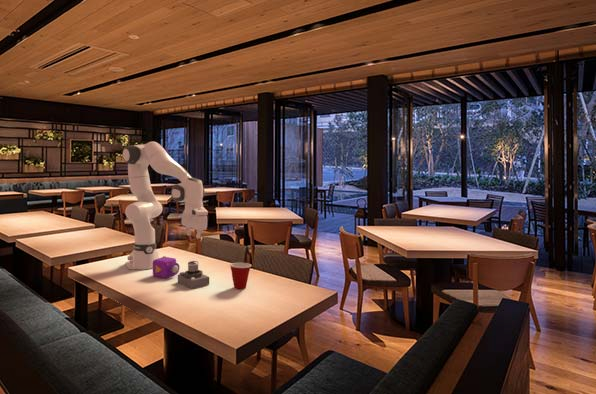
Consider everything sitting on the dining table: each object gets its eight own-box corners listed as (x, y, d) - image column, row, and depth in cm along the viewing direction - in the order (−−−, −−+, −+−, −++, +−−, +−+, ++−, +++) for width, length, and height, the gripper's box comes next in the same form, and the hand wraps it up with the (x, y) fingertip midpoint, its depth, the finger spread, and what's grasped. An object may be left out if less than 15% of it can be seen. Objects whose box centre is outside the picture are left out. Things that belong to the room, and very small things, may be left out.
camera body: (177, 282, 191) (177, 270, 191) (195, 278, 198) (195, 267, 198) (191, 288, 181) (191, 276, 181) (209, 284, 189) (209, 273, 188)
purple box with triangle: (173, 280, 195) (173, 261, 194) (150, 278, 198) (149, 259, 197) (183, 274, 206) (183, 256, 205) (161, 272, 209) (161, 254, 208)
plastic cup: (255, 287, 186) (256, 263, 185) (240, 292, 177) (240, 268, 176) (240, 282, 192) (240, 260, 192) (224, 288, 184) (224, 264, 183)
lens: (186, 275, 190) (185, 261, 189) (195, 273, 193) (195, 260, 193) (191, 278, 186) (191, 263, 185) (200, 275, 190) (200, 261, 189)
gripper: (178, 208, 195) (178, 234, 196) (198, 212, 180) (197, 240, 181) (189, 207, 199) (189, 232, 200) (209, 211, 185) (209, 239, 186)
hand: (193, 236), depth 191 cm, fingers open, 8 cm apart
